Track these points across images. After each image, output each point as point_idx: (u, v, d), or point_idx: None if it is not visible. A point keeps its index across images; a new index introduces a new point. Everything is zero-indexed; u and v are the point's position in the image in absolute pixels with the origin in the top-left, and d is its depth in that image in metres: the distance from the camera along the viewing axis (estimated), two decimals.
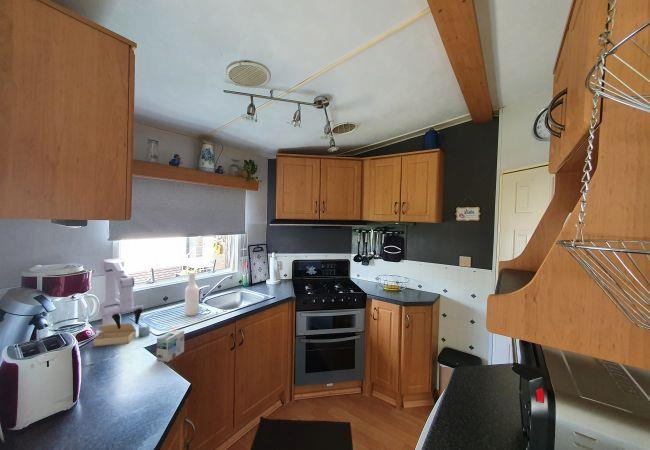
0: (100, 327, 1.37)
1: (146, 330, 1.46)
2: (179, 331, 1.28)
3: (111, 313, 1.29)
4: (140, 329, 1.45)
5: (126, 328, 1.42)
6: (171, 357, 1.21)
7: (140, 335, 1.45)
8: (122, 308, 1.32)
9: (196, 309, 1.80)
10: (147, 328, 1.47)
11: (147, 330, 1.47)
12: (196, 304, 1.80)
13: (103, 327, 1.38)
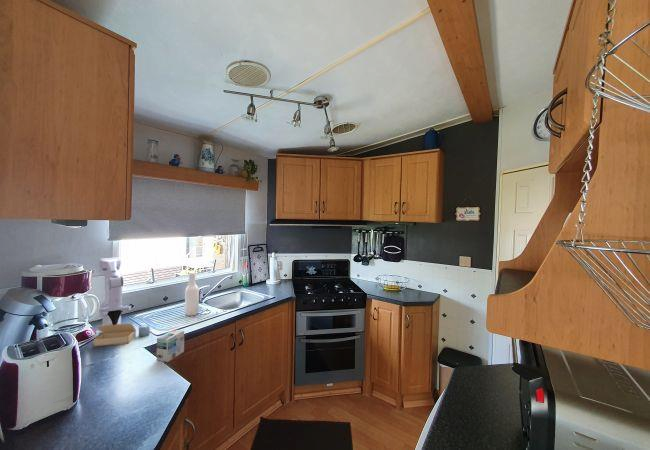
0: (100, 327, 1.37)
1: (146, 330, 1.46)
2: (179, 331, 1.28)
3: (99, 310, 1.36)
4: (140, 329, 1.45)
5: (126, 328, 1.42)
6: (171, 357, 1.21)
7: (140, 335, 1.45)
8: (108, 307, 1.36)
9: (196, 309, 1.80)
10: (147, 328, 1.47)
11: (147, 330, 1.47)
12: (196, 304, 1.80)
13: (103, 328, 1.38)
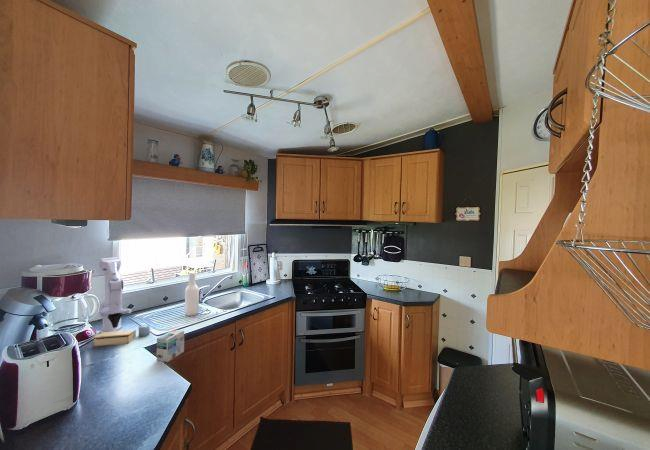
0: None
1: (146, 330, 1.46)
2: (179, 331, 1.28)
3: (99, 313, 1.36)
4: (140, 329, 1.45)
5: None
6: (171, 357, 1.21)
7: (140, 335, 1.45)
8: (108, 310, 1.37)
9: (196, 309, 1.80)
10: (147, 328, 1.47)
11: (147, 330, 1.47)
12: (196, 304, 1.80)
13: None
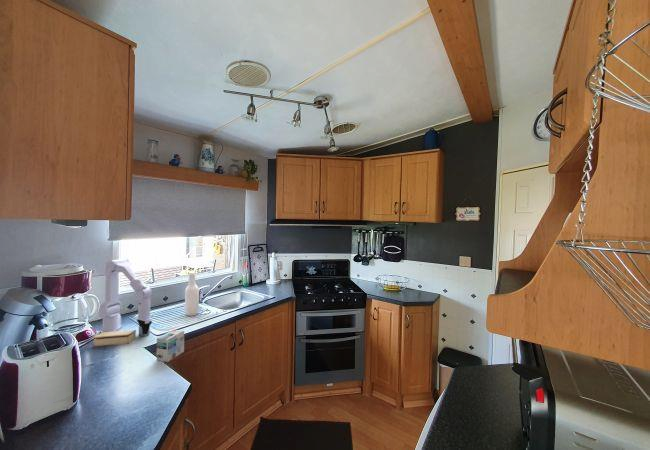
0: None
1: None
2: (179, 331, 1.28)
3: None
4: (140, 329, 1.45)
5: None
6: (171, 357, 1.21)
7: (140, 335, 1.45)
8: None
9: (196, 309, 1.80)
10: None
11: None
12: (196, 304, 1.80)
13: None
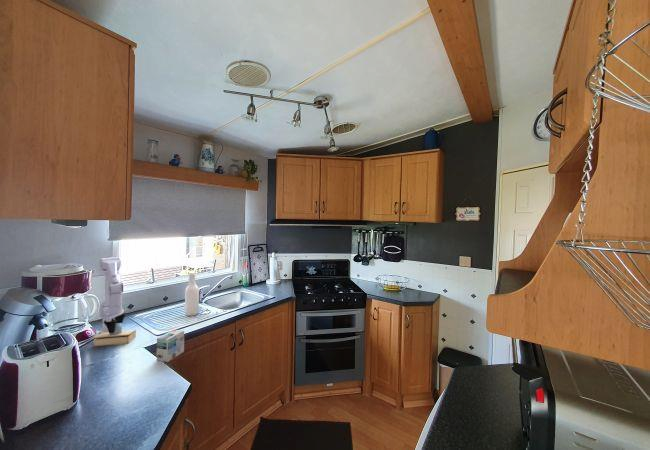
0: None
1: (115, 328, 1.37)
2: (179, 331, 1.28)
3: None
4: None
5: None
6: (171, 357, 1.21)
7: (109, 333, 1.37)
8: None
9: (196, 309, 1.80)
10: (116, 326, 1.37)
11: (116, 328, 1.37)
12: (196, 304, 1.80)
13: None
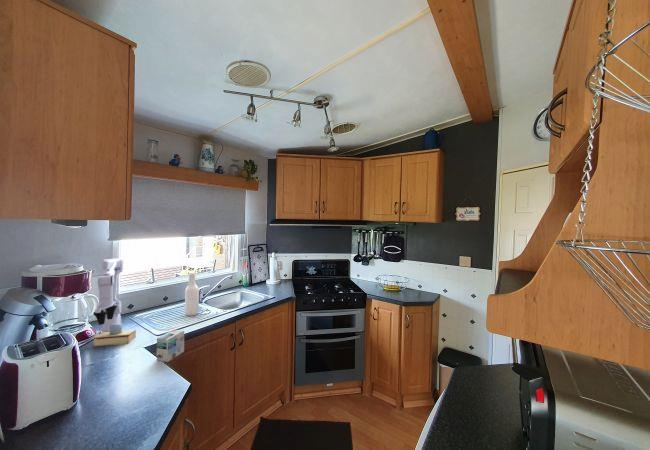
0: None
1: (115, 328, 1.37)
2: (179, 331, 1.28)
3: None
4: (110, 326, 1.37)
5: None
6: (171, 357, 1.21)
7: (109, 333, 1.37)
8: None
9: (196, 309, 1.80)
10: (116, 326, 1.37)
11: (116, 328, 1.37)
12: (196, 304, 1.80)
13: None
